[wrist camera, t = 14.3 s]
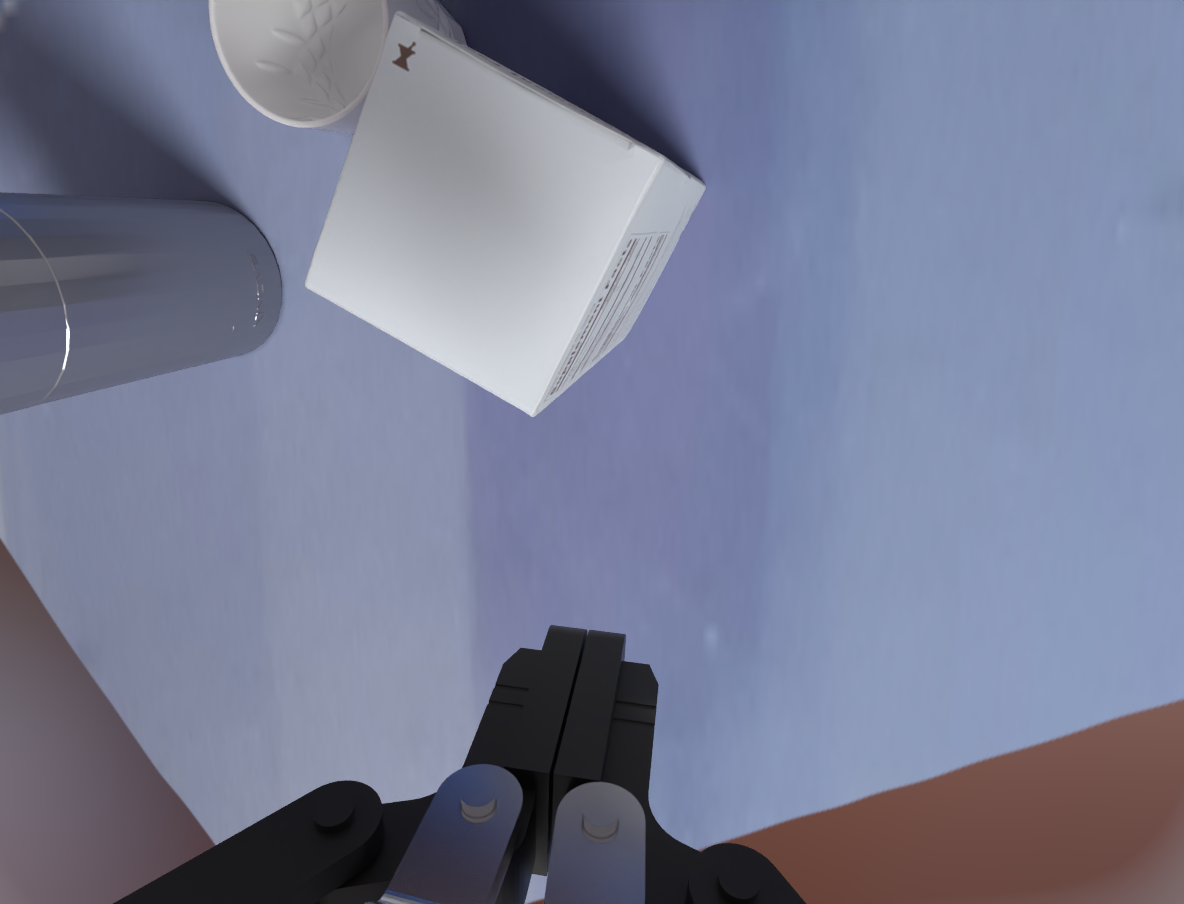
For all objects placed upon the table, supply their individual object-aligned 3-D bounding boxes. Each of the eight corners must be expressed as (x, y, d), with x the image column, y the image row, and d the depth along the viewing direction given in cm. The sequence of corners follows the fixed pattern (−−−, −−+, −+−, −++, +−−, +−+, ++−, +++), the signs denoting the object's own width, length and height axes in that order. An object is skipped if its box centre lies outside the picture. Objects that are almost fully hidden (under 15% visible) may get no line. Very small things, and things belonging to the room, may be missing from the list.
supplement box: (476, 261, 40) (287, 285, 24) (547, 94, 36) (380, -4, 21) (627, 346, 39) (533, 427, 24) (713, 184, 36) (670, 154, 20)
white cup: (384, -51, 36) (250, -148, 27) (511, 39, 36) (421, -26, 27) (321, 96, 39) (181, 56, 30) (439, 180, 39) (335, 166, 30)
